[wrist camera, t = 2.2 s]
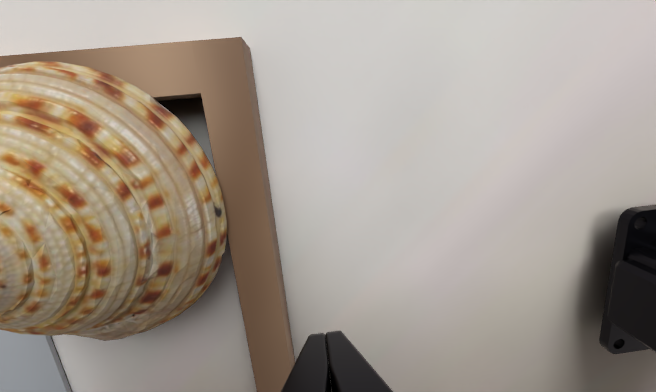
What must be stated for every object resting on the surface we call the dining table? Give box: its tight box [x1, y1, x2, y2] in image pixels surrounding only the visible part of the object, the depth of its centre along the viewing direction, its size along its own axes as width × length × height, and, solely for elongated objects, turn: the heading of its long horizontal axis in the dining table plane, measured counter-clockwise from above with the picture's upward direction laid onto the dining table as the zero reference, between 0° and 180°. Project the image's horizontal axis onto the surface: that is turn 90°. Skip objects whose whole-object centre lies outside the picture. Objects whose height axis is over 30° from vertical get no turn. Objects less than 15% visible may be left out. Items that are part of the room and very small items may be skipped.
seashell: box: [0, 61, 227, 341], centre depth 9 cm, size 8×6×8 cm
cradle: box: [0, 37, 295, 392], centre depth 12 cm, size 9×16×2 cm, turn 5°
